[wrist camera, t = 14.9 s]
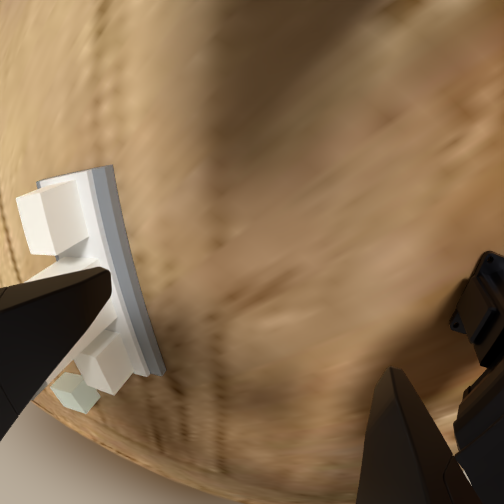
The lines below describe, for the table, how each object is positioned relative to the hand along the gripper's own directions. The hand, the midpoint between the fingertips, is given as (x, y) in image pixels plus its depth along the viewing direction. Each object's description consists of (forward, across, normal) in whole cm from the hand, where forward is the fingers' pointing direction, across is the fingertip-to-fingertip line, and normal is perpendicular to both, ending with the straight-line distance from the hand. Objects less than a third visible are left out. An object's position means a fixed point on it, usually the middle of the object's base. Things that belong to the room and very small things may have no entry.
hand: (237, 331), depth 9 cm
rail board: (+13, +17, +12) cm, 25 cm away
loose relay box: (+13, +24, +34) cm, 44 cm away
